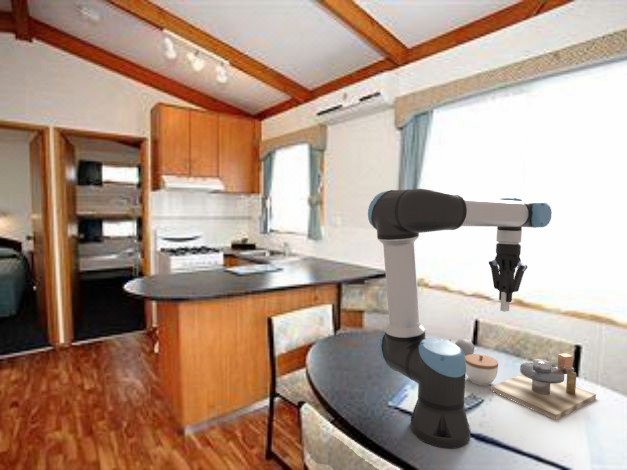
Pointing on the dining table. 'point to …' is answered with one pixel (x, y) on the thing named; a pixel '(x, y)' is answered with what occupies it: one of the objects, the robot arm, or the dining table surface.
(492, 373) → the lidded jar
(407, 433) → the dining table surface
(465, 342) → the round bodied animal figurine
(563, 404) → the flange base
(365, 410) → the dining table surface
